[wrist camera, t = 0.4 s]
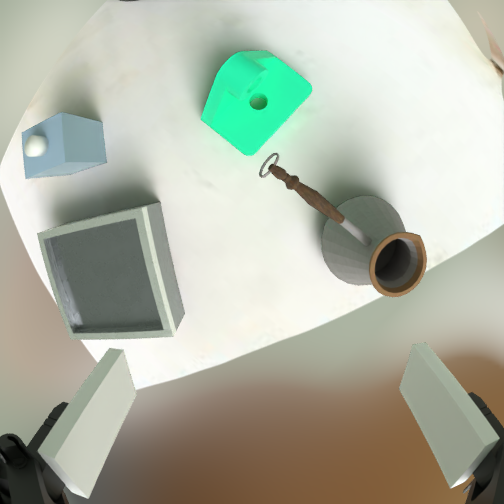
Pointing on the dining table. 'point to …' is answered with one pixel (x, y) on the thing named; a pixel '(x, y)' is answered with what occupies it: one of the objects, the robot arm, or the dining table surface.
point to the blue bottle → (63, 146)
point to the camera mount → (247, 89)
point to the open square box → (114, 275)
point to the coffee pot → (364, 240)
